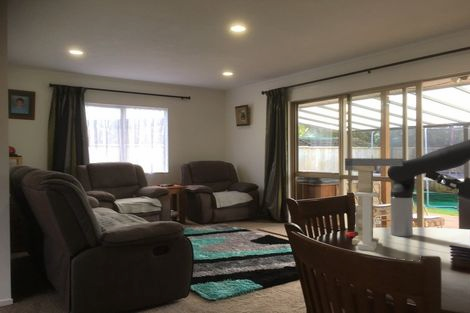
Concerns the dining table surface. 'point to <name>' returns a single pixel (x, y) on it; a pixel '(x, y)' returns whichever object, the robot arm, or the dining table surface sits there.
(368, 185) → the tall stand
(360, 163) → the hook bar
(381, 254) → the dining table surface
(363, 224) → the rest post
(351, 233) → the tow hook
